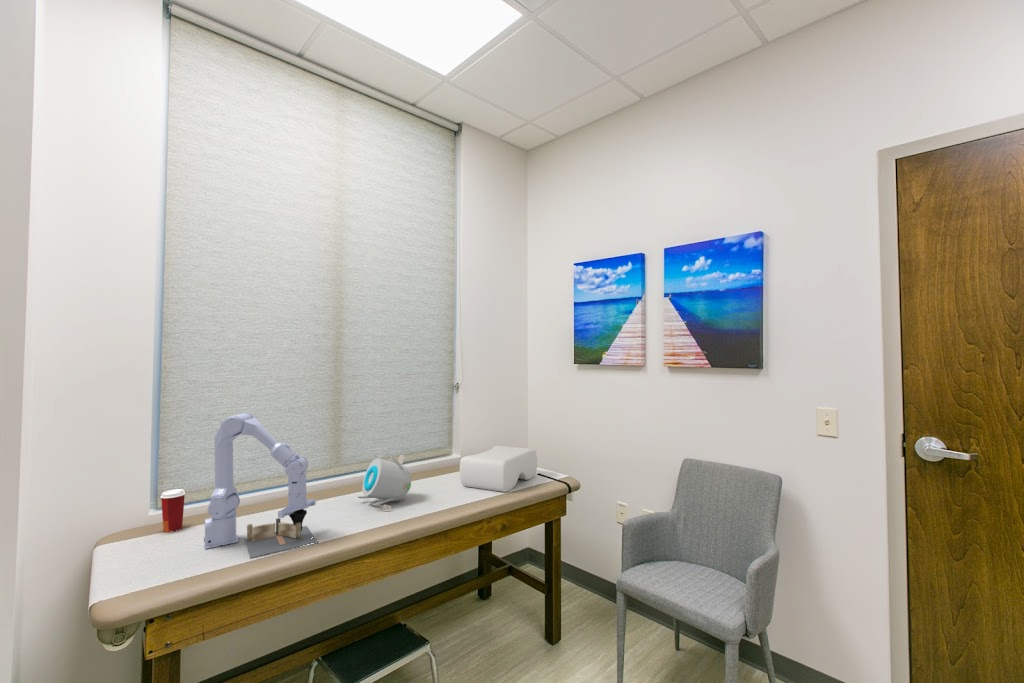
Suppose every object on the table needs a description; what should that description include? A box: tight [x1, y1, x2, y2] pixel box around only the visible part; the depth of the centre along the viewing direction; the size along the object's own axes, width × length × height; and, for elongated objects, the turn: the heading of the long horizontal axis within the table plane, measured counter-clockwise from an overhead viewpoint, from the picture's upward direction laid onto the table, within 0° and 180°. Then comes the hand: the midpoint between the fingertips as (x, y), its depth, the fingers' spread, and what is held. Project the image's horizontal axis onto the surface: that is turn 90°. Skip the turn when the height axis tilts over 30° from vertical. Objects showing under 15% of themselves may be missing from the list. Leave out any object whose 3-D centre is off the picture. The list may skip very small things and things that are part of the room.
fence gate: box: [275, 517, 301, 539], centre depth 161 cm, size 12×2×5 cm, turn 66°
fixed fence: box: [246, 522, 276, 542], centre depth 160 cm, size 9×2×5 cm, turn 125°
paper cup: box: [159, 488, 186, 533], centre depth 171 cm, size 8×8×14 cm
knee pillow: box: [459, 445, 538, 493], centre depth 229 cm, size 35×25×15 cm
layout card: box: [244, 525, 319, 560], centre depth 158 cm, size 20×19×1 cm
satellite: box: [358, 452, 412, 512], centre depth 200 cm, size 23×20×25 cm
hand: (297, 531), depth 161 cm, fingers closed
